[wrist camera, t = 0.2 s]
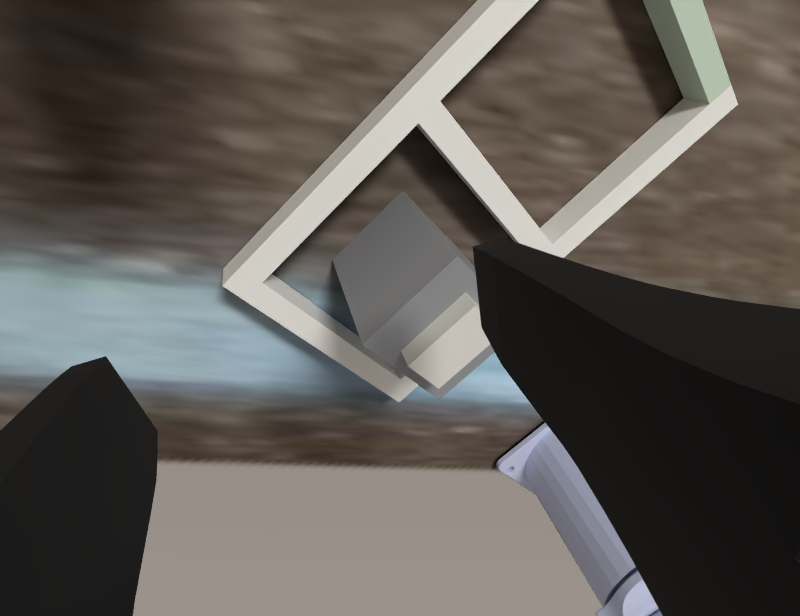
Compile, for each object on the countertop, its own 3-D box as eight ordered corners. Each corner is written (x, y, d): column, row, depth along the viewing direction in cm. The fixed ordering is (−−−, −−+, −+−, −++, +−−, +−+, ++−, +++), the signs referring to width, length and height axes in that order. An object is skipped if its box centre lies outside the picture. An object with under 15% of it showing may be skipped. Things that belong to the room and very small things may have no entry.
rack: (710, 98, 21) (737, 104, 20) (391, 383, 24) (398, 402, 23) (617, -148, 15) (647, -159, 14) (223, 268, 19) (222, 285, 18)
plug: (460, 250, 22) (536, 338, 16) (395, 311, 22) (446, 415, 17) (402, 190, 19) (467, 268, 14) (332, 259, 20) (367, 360, 15)
